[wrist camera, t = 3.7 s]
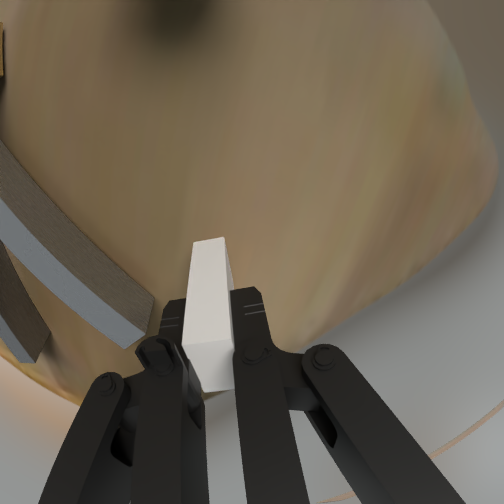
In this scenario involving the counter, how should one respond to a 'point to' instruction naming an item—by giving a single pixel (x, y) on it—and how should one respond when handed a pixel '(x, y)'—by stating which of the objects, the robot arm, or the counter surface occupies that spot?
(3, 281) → the base
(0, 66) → the yellow wooden arch
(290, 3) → the counter surface
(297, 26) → the counter surface
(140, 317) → the tong jaw
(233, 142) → the counter surface
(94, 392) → the robot arm
